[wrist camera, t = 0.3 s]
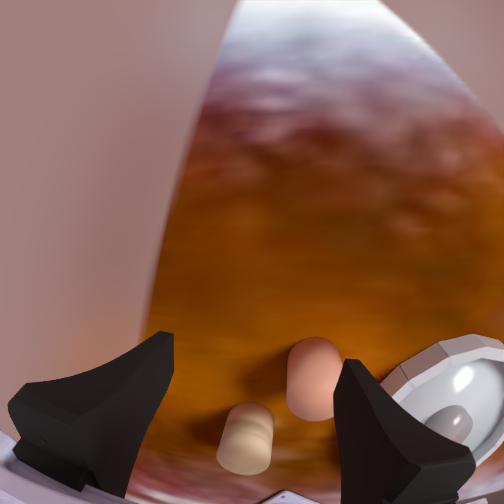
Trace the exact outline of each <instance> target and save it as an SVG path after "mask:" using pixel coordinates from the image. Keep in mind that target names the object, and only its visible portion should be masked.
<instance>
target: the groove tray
mask: <svg viewBox="0 0 504 504" xmlns="http://www.w3.org/2000/svg"><path fill="white" fill-rule="evenodd" d="M380 385H381V386H382V387H383V389H384V390H385V391H386V392H387V393H388V394H389V395H390V396H391V397H392V398H393V399H394V400H395V401H396V402H397V403H398V404H399V405H400V406H401V407H402V408H403V409H404V410H406V411H407V412H408V413H409V414H411V415H412V416H413V417H414V418H416V419H417V420H418V421H420V422H421V423H423V424H424V425H426V426H427V427H429V428H430V429H432V430H433V431H435V432H437V433H439V434H440V435H442V436H444V437H446V438H448V439H450V440H453V441H455V442H457V443H460V444H462V445H465V446H467V447H469V448H470V450H471V453H472V455H473V457H474V459H475V462H476V467H477V466H478V465H480V464H481V463H482V462H483V461H484V460H485V459H486V458H487V457H489V456H490V455H491V454H492V453H493V452H494V451H495V450H496V449H497V448H498V447H499V446H500V445H501V443H502V442H503V441H504V344H503V343H502V342H500V341H499V340H497V339H493V338H488V337H484V336H480V335H475V334H469V335H465V336H461V337H457V338H453V339H449V340H445V341H440V342H437V343H435V344H433V345H432V346H430V347H428V348H427V349H425V350H423V351H422V352H420V353H418V354H417V355H415V356H413V357H411V358H410V359H408V360H406V361H404V362H403V363H401V364H400V365H398V366H397V367H396V368H395V369H394V370H393V371H392V372H391V373H390V374H389V375H388V376H387V377H386V378H385V379H384V380H383V381H382V382H381V383H380Z"/></svg>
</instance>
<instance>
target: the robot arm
mask: <svg viewBox="0 0 504 504" xmlns="http://www.w3.org/2000/svg"><path fill="white" fill-rule="evenodd" d="M173 372H174V334H173V333H168V332H163V331H159V332H157V333H156V334H154V335H153V336H151V337H150V338H148V339H147V340H145V341H144V342H142V343H141V344H139V345H138V346H136V347H135V348H133V349H132V350H130V351H128V352H127V353H125V354H123V355H121V356H120V357H118V358H116V359H114V360H112V361H110V362H108V363H106V364H104V365H102V366H99V367H97V368H95V369H92V370H90V371H87V372H83V373H80V374H77V375H74V376H70V377H66V378H62V379H57V380H51V381H43V382H33V383H26V384H25V385H24V386H23V387H22V388H21V389H20V390H19V391H18V392H17V393H16V394H15V395H14V397H13V398H12V399H11V400H10V401H9V403H8V412H9V414H10V417H11V419H12V421H13V423H14V425H15V427H16V429H17V431H18V432H19V434H20V436H21V439H20V440H19V441H18V442H16V441H15V440H14V439H13V438H12V437H11V436H9V435H8V434H6V433H5V432H3V431H1V430H0V504H138V503H135V502H131V501H128V500H126V499H124V498H125V494H126V490H127V486H128V483H129V479H130V476H131V473H132V469H133V466H134V463H135V460H136V457H137V454H138V451H139V448H140V446H141V443H142V440H143V437H144V435H145V432H146V430H147V428H148V426H149V424H150V422H151V420H152V418H153V416H154V415H155V413H156V411H157V409H158V407H159V405H160V403H161V401H162V399H163V397H164V395H165V393H166V391H167V389H168V387H169V384H170V381H171V378H172V375H173ZM333 413H334V420H335V426H336V432H337V438H338V444H339V451H340V458H341V504H456V503H455V501H457V500H458V499H459V496H458V493H457V491H458V490H459V489H460V488H461V487H462V486H463V485H464V484H465V483H466V482H467V481H468V479H469V478H470V477H471V476H472V475H473V473H474V471H475V469H476V462H475V459H474V457H473V455H472V453H471V450H470V448H469V447H467V446H465V445H462V444H460V443H457V442H455V441H453V440H450V439H448V438H446V437H444V436H442V435H440V434H439V433H437V432H435V431H433V430H432V429H430V428H429V427H427V426H426V425H424V424H423V423H421V422H420V421H418V420H417V419H416V418H414V417H413V416H412V415H411V414H409V413H408V412H407V411H406V410H404V409H403V408H402V407H401V406H400V405H399V404H398V403H397V402H396V401H395V400H394V399H393V398H392V397H391V396H390V395H389V394H388V393H387V392H386V391H385V390H384V389H383V387H382V386H381V385H380V384H379V383H378V382H377V381H376V379H375V378H374V377H373V376H372V375H371V373H370V372H369V371H368V370H367V368H366V367H365V366H364V365H363V364H362V362H361V361H360V360H357V359H345V361H344V364H343V367H342V370H341V373H340V376H339V379H338V381H337V384H336V387H335V390H334V393H333ZM261 504H320V503H317V502H314V501H312V500H309V499H307V498H304V497H302V496H299V495H297V494H294V493H292V492H290V491H282V492H280V493H279V494H277V495H275V496H274V497H272V498H270V499H268V500H267V501H265V502H263V503H261ZM465 504H487V501H486V498H482V499H478V500H475V501H472V502H468V503H465Z"/></svg>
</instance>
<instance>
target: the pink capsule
mask: <svg viewBox="0 0 504 504" xmlns="http://www.w3.org/2000/svg"><path fill="white" fill-rule="evenodd" d="M342 367H343V366H342V362H341V359H340V355H339V351H338V349H337V347H336V346H335V345H334V344H333V343H332V342H331V341H329V340H327V339H325V338H321V337H310V338H306V339H303V340H301V341H299V342H298V343H297V344H295V345H294V346H293V347H292V349H291V350H290V352H289V355H288V361H287V394H286V402H287V405H288V408H289V409H290V411H291V412H292V413H293V414H294V415H295V416H297V417H299V418H301V419H303V420H307V421H322V420H326V419H329V418H332V417H334V413H333V393H334V390H335V387H336V384H337V381H338V379H339V376H340V373H341V370H342Z"/></svg>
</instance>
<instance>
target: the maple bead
mask: <svg viewBox="0 0 504 504" xmlns="http://www.w3.org/2000/svg"><path fill="white" fill-rule="evenodd" d="M273 428H274V416H273V414H272V413H271V411H270V410H269V409H268V408H266V407H265V406H263V405H261V404H258V403H252V402H245V403H240V404H237V405H235V406H234V407H233V408H232V409H231V410H230V411H229V413H228V417H227V420H226V424H225V427H224V431H223V434H222V438H221V441H220V445H219V448H218V451H217V460H218V462H219V463H220V465H221V466H222V467H224V468H225V469H227V470H228V471H230V472H233V473H236V474H241V475H254V474H258V473H261V472H263V471H264V470H266V469H267V468H268V466H269V465H270V459H271V449H272V439H273Z"/></svg>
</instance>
